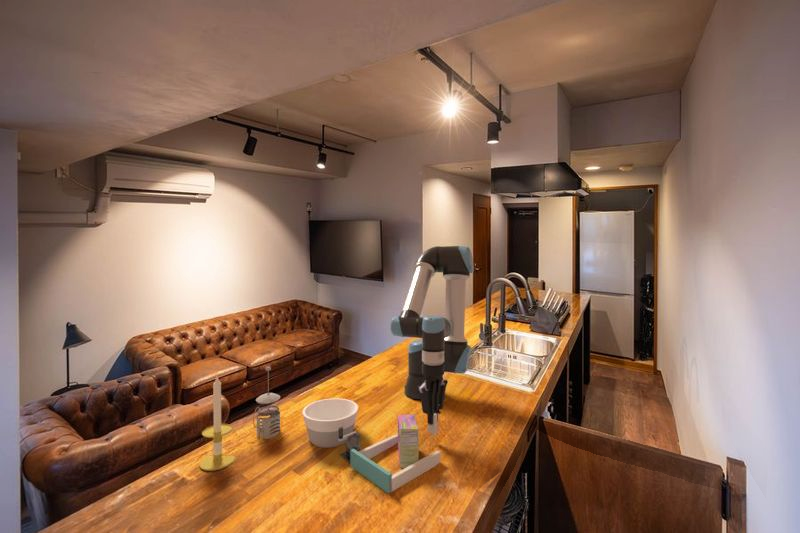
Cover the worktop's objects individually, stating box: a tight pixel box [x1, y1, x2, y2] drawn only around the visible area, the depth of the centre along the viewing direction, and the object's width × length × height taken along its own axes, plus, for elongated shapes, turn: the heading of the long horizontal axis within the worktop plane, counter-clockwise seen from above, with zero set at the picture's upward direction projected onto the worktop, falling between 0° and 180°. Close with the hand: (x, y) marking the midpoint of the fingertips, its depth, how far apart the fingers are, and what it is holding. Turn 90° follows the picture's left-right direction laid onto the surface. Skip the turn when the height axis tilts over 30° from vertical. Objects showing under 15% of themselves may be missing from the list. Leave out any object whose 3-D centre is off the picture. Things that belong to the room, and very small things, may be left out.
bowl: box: [301, 397, 360, 448], centre depth 125 cm, size 19×19×11 cm
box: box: [396, 414, 420, 469], centre depth 113 cm, size 10×6×12 cm, turn 5°
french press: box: [252, 365, 281, 440], centre depth 125 cm, size 10×12×25 cm
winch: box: [338, 427, 361, 464], centre depth 113 cm, size 6×8×11 cm
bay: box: [349, 433, 441, 495], centre depth 109 cm, size 17×21×5 cm
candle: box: [199, 376, 236, 472], centre depth 111 cm, size 10×10×27 cm
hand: (432, 432), depth 121 cm, fingers closed
